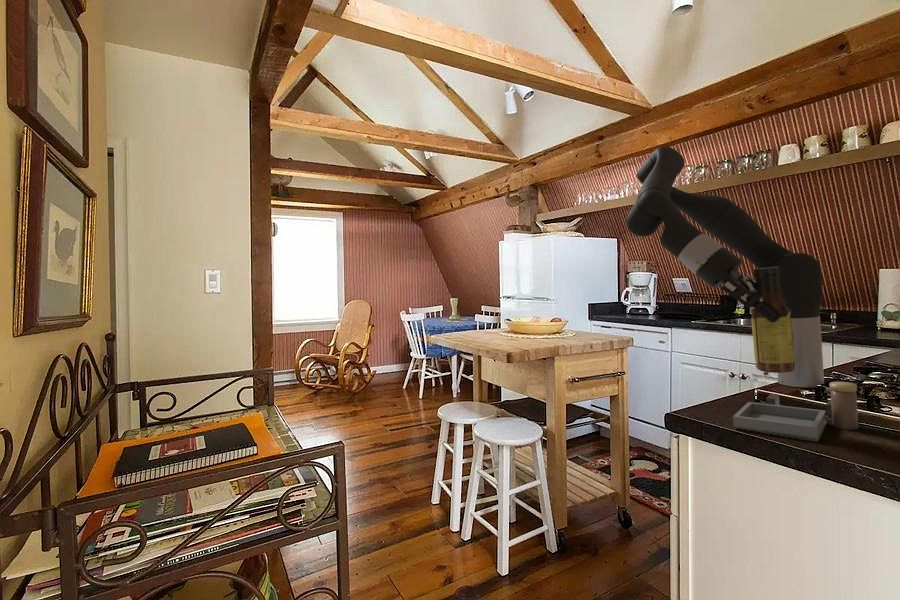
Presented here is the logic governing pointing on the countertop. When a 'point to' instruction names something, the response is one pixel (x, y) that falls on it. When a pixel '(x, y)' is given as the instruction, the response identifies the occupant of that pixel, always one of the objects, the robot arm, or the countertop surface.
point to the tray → (781, 420)
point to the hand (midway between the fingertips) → (781, 316)
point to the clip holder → (774, 400)
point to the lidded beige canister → (844, 405)
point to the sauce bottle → (772, 326)
